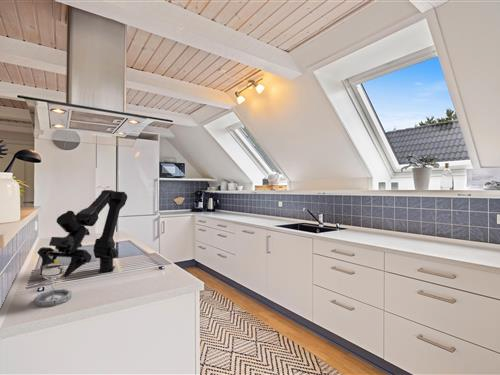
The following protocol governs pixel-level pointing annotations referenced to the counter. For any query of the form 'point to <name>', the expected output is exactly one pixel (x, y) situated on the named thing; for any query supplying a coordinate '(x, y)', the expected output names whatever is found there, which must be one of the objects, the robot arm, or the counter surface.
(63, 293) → the holder
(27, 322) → the counter surface
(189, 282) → the counter surface
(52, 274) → the wineglass
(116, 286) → the counter surface
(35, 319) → the counter surface
